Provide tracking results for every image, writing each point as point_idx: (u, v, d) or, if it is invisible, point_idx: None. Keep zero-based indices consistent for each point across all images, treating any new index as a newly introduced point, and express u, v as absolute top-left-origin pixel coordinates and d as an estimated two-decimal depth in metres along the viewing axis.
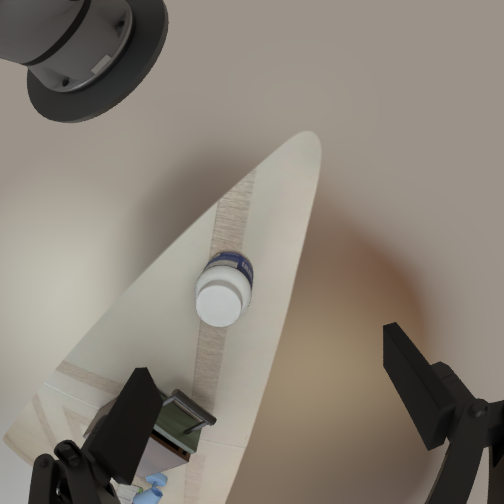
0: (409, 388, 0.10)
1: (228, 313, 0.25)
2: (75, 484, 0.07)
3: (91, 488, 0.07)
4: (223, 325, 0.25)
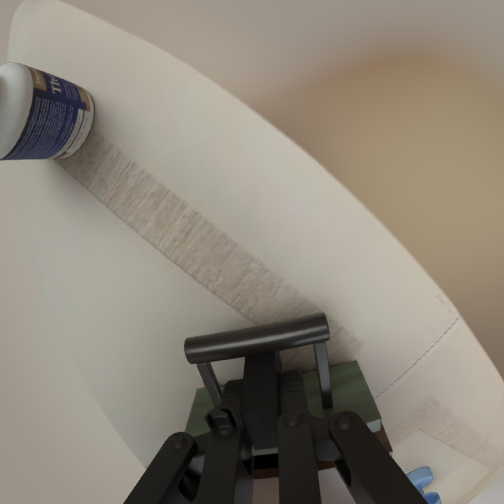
0: None
1: None
2: (214, 458, 0.08)
3: (231, 468, 0.08)
4: None
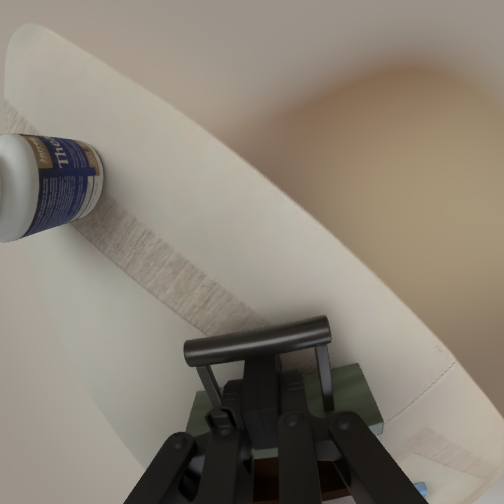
0: None
1: None
2: (214, 457, 0.08)
3: (231, 468, 0.08)
4: None
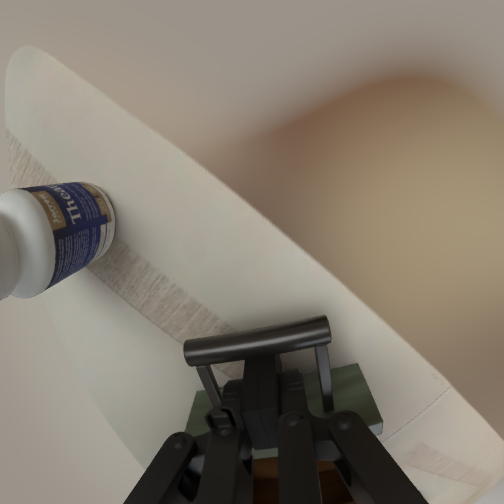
0: None
1: None
2: (214, 457, 0.08)
3: (231, 468, 0.08)
4: None
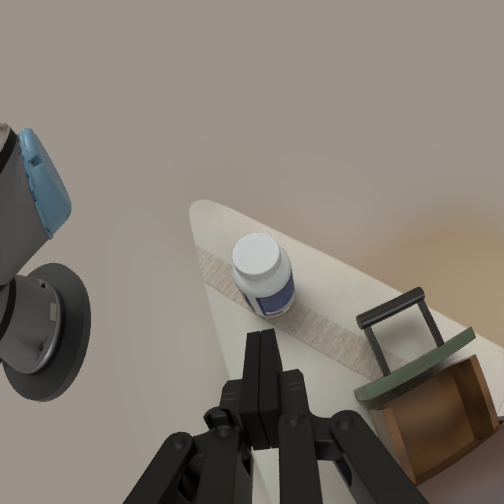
0: None
1: (265, 245, 0.24)
2: (213, 458, 0.08)
3: (230, 468, 0.08)
4: (277, 254, 0.24)
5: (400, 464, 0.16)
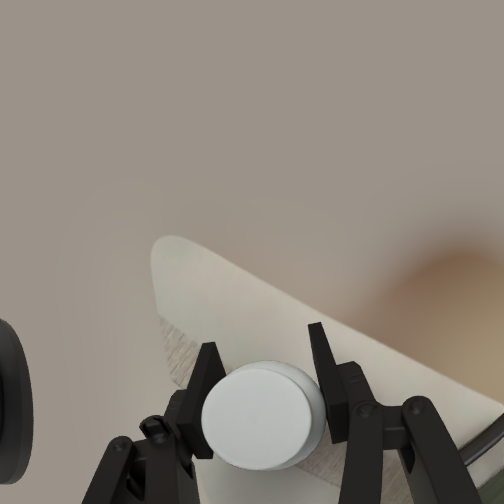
0: (320, 383, 0.13)
1: (279, 405, 0.09)
2: (154, 464, 0.08)
3: (171, 471, 0.08)
4: (305, 428, 0.09)
5: None
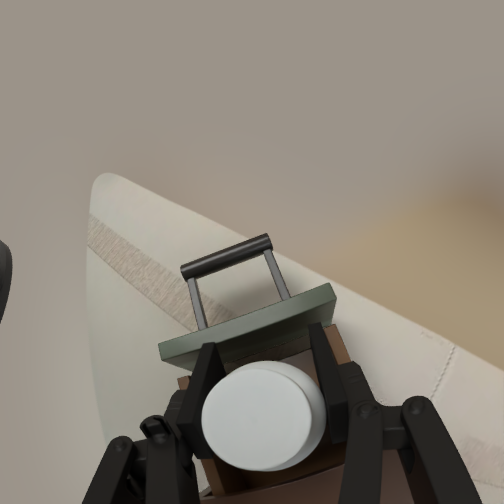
0: (320, 383, 0.13)
1: (279, 405, 0.09)
2: (154, 464, 0.08)
3: (171, 471, 0.08)
4: (305, 428, 0.09)
5: None
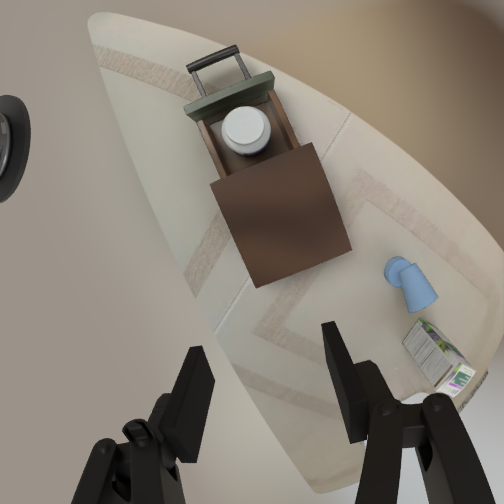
0: (336, 383, 0.12)
1: (252, 118, 0.27)
2: (138, 467, 0.08)
3: (155, 473, 0.08)
4: (262, 126, 0.27)
5: (213, 161, 0.33)
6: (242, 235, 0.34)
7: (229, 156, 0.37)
